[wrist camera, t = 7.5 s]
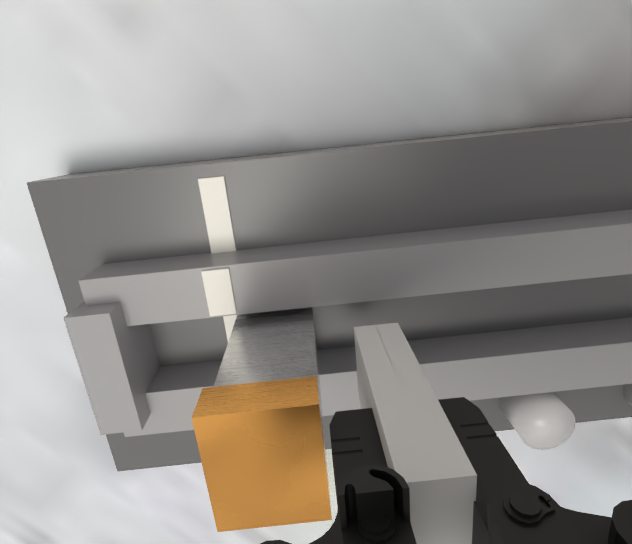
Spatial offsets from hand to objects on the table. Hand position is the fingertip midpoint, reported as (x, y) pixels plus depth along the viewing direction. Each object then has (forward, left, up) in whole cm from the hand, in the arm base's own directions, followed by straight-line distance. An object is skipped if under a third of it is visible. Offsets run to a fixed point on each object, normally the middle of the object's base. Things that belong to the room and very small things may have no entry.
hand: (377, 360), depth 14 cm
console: (-5, 0, -7) cm, 8 cm away
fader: (+4, 0, -4) cm, 5 cm away
